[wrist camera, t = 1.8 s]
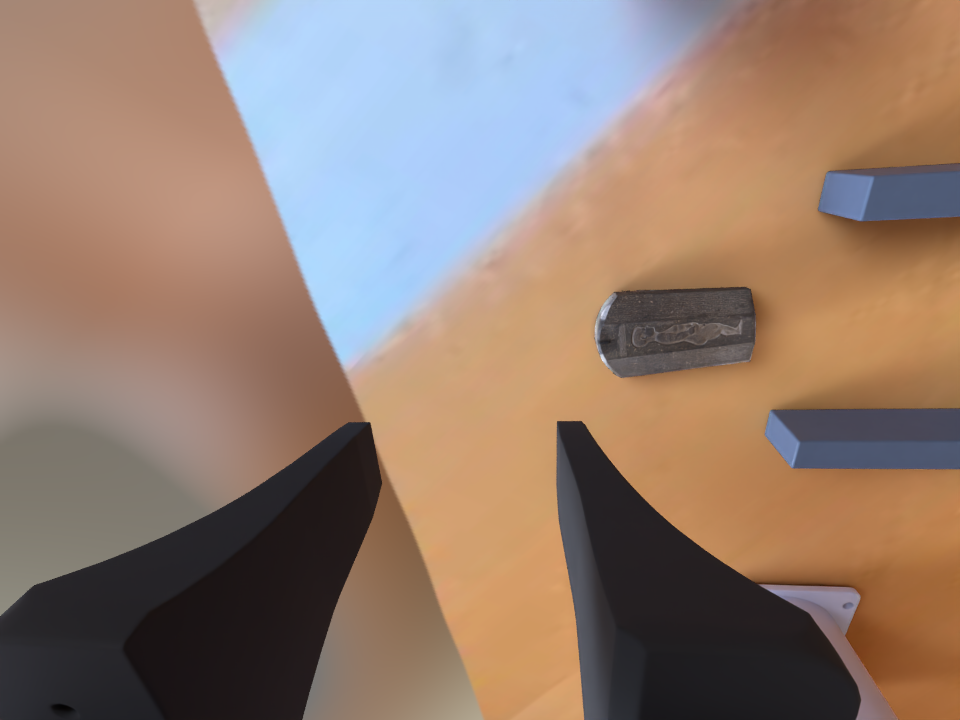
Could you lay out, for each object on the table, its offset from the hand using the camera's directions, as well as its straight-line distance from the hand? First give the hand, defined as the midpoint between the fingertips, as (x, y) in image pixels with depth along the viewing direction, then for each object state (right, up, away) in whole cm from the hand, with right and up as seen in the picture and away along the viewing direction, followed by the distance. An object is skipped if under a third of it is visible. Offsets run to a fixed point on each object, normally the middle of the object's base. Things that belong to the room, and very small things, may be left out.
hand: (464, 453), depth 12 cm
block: (+8, +4, +8) cm, 12 cm away
